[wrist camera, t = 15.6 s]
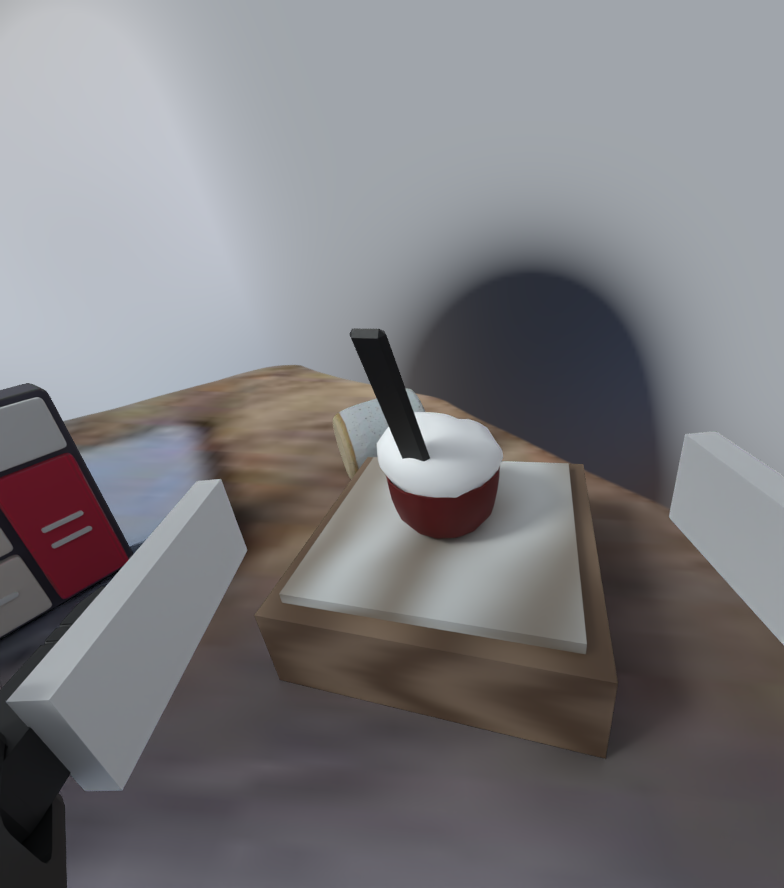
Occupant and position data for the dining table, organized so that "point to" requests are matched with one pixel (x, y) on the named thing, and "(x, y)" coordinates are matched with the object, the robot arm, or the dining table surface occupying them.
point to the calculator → (48, 513)
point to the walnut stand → (457, 611)
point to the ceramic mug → (363, 431)
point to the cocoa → (429, 453)
